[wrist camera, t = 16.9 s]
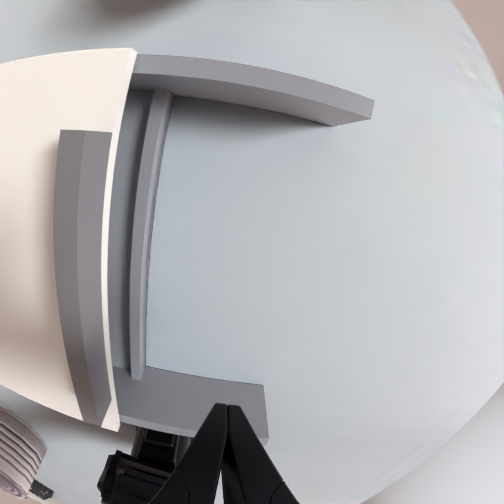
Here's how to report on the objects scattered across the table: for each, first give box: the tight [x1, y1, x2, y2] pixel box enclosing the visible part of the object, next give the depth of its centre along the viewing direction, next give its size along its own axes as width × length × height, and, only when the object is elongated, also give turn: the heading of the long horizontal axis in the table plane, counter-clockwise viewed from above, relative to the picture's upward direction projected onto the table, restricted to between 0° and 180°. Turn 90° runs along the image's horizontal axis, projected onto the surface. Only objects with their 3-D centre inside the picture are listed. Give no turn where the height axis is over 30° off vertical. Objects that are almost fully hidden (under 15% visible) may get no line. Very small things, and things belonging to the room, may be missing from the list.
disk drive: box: [29, 479, 54, 500], centre depth 37 cm, size 10×3×15 cm
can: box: [0, 407, 47, 499], centre depth 24 cm, size 11×11×12 cm
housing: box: [107, 54, 374, 445], centre depth 17 cm, size 24×27×6 cm
